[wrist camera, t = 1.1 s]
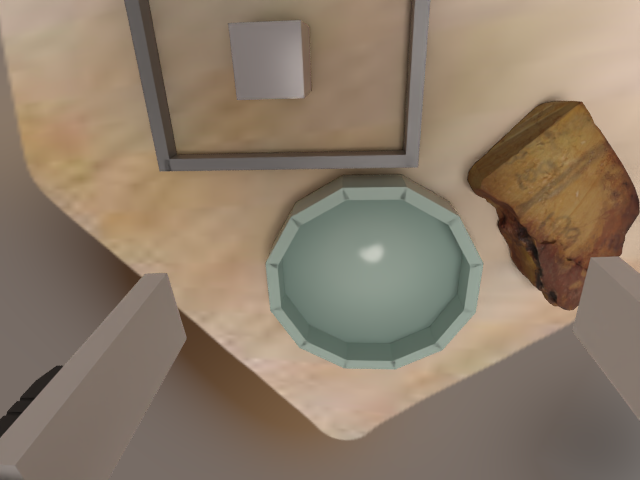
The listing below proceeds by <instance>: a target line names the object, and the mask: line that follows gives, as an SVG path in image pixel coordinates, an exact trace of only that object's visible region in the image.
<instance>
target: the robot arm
mask: <svg viewBox="0 0 640 480" xmlns="http://www.w3.org/2000/svg"><path fill="white" fill-rule="evenodd" d="M572 331H573V333H574V334H575V335H576V337H577V338H578V339H579V341H580V342H581V343H582V345H583V346H584V347H585V349H586V350H587V351H588V352H589V354H590V355H591V356H592V358H593V359H594V361H595V362H596V363H597V365H598V366H599V367H600V369H601V370H602V371H603V373H604V374H605V375H606V377H607V378H608V379H609V381H610V382H611V383H612V385H613V386H614V387H615V388H616V390H617V391H618V392H619V394H620V395H621V396H622V398H623V399H624V400H625V402H626V403H627V404H628V405H629V407H630V408H631V410H632V411H633V412H634V414H635V415H636V416H637V418H638V419H639V420H640V274H639V273H638V272H637V271H636V270H634V269H633V268H632V267H631V266H630V265H628V264H627V263H626V262H625V261H623V260H622V259H621V258H620V257H619V256H616V257H591V258H590V262H589V266H588V270H587V274H586V278H585V282H584V286H583V290H582V294H581V298H580V302H579V306H578V310H577V314H576V318H575V322H574V327H573V330H572ZM185 340H186V335H185V331H184V328H183V325H182V321H181V318H180V315H179V311H178V308H177V305H176V301H175V298H174V295H173V291H172V288H171V285H170V281H169V278H168V275H167V273H155V274H144V276H143V277H142V278H141V279H140V280H139V281H138V283H137V284H136V285H135V286H134V287H133V288H132V290H130V292H129V293H128V294H127V295H126V296H125V297H124V298H123V299H122V301H121V302H120V303H119V304H118V305H117V306H116V307H115V309H114V310H113V311H112V312H111V313H110V314H109V315H108V316H107V318H106V319H105V320H104V321H103V322H102V323H101V324H100V325H99V327H98V328H97V329H96V330H95V331H94V332H93V333H92V335H91V336H90V337H89V338H88V339H87V340H86V341H85V342H84V344H83V345H82V346H81V347H80V348H79V349H78V350H77V352H76V353H75V354H74V355H73V356H72V357H71V358H70V359H69V361H68V362H67V363H66V364H65V365H64V366H56V367H54V368H53V369H52V370H50V371H49V372H47V373H46V374H45V375H43V376H42V377H40V378H39V379H38V380H36V381H35V382H34V383H33V384H32V385H31V387H30V388H29V389H28V390H27V391H26V392H25V393H24V394H23V395H22V396H21V398H20V401H17V402H16V403H15V404H14V405H13V406H12V407H11V408H10V409H9V410H8V411H7V415H6V416H3V417H2V418H1V419H0V480H109V478H110V476H111V474H112V472H113V471H114V469H115V467H116V465H117V463H118V462H119V460H120V458H121V456H122V454H123V453H124V451H125V449H126V447H127V445H128V443H129V442H130V440H131V438H132V436H133V435H134V433H135V431H136V429H137V427H138V425H139V424H140V422H141V420H142V418H143V416H144V415H145V413H146V411H147V409H148V407H149V406H150V404H151V402H152V400H153V398H154V397H155V395H156V393H157V391H158V389H159V388H160V386H161V384H162V382H163V380H164V378H165V377H166V375H167V373H168V371H169V369H170V368H171V366H172V364H173V362H174V360H175V359H176V357H177V355H178V353H179V351H180V349H181V348H182V346H183V344H184V342H185Z"/></svg>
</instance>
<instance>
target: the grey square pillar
mask: <svg viewBox="0 0 640 480" xmlns="http://www.w3.org/2000/svg"><path fill="white" fill-rule="evenodd" d="M228 25H229V34H230V43H231V52H232V60H233V69H234V78H235V87H236V95H237V100H253V99H289V98H305V97H306V96H307V95H308V94H309V93H310V92H311V91H312V81H311V55H310V29H309V26H308V25H307V24H306V23H304V22H303V21H301V20H291V21H267V22H243V23H228Z"/></svg>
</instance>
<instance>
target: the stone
mask: <svg viewBox="0 0 640 480" xmlns="http://www.w3.org/2000/svg"><path fill="white" fill-rule="evenodd" d="M468 182H469V184H470V186H471V188H472V189H473V191H474V193H475V194H477V195H478V196H480V197H482V198H485V199H486V200H487V202H489V203H491V204H492V205H493V206H494V207H495V208H496V210H497V214H498V216H499V218H500V220H499V225H498V227H499V230H500V232H501V234H502V235H503V237H504V238H505V239H506V241H507V243H508V245H509V250H510V256H511V258H512V260H513V262H514V263H515V265H516V266H517V268H518V269H519V271H520V272H521V273H522V274H523V275H524V276H525V277H527V278H528V279H529V280H530V282H531V283H532V284H533V285H534V286H535V287H536V288H537V289H538V290H540V291H542V293H543V295H544V297H545V298H546V300H547V301H548V302H549V303H550V304H552V305H553V306H559V307H561V308H563V309H565V310H574V309H575V308H576V307H577V306H579V302H580V298H581V294H582V290H583V286H584V282H585V278H586V274H587V270H588V266H589V262H590V258H591V257H616V256H620V255H621V254H622V248H623V243H624V241H625V234H626V233H627V231H628V230H629V228H630V227H631V225H632V224H633V222H634V221H635V219H636V218H637V216H638V214H639V199H638V196H637V193H636V190H635V187H634V185H633V183H632V181H631V179H630V177H629V175H628V173H627V172H626V170H625V168H624V166H623V165H622V163H621V161H620V160H619V158H618V157H617V155H616V153H615V152H614V150H613V149H612V147H611V146H610V144H609V143H608V141H607V140H606V138H605V137H604V135H603V134H602V132H601V130H600V129H599V128H598V127H597V126H596V125H595V124H594V122H593V119H592V117H591V115H590V113H589V112H588V110H587V109H586V107H585V106H584V104H583V102H578V101H554V102H547V103H543V104H541V105H539V106H537V107H535V108H534V109H533V110H532V111H531V112H530V113H529V114H528V115H527V116H526V117H524V118H523V119H522V120H521V121H520V122H519V123H518V124H517V125H515V126H514V127H513V128H512V129H511V130H510V132H509V133H507V134H506V135H505V136H504V137H503V138H502V139H501V140H500V141H499V142H498V143H497V144H496V145H495V146H493V147H492V148H491V149H490V151H489V152H488V153H487V154H486V155H485V156H483V157H482V158H481V159H480V160H479V161H477V162H476V163H475V164H474V165H473V167H472V168H471V170H470V171H469V175H468Z"/></svg>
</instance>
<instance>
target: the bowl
mask: <svg viewBox="0 0 640 480" xmlns="http://www.w3.org/2000/svg"><path fill="white" fill-rule="evenodd" d="M482 269H483V262H482V260H481V258H480V256H479V254H478V252H477V250H476V248H475V246H474V244H473V242H472V240H471V238H470V236H469V234H468V233H467V231H466V229H465V227H464V225H463V223H462V221H461V219H460V217H459V215H458V214H457V212H456V211H455V209H454V208H453V207H452V205H451V204H450V202H449V201H448V200H446V199H444V198H442V197H441V196H439V195H437V194H435V193H433V192H432V191H430V190H428V189H426V188H424V187H423V186H421V185H419V184H417V183H416V182H414V181H412V180H410V179H408V178H407V177H405V176H403V175H401V174H387V175H343V176H341V177H339V178H337V179H336V180H334V181H332V182H330V183H329V184H327V185H325V186H324V187H322V188H320V189H318V190H317V191H315V192H313V193H311V194H310V195H308V196H306V197H305V198H303V199H301V200H299V201H298V202H296V203H295V205H294V207H293V209H292V210H291V212H290V214H289V216H288V218H287V220H286V222H285V223H284V225H283V227H282V229H281V231H280V233H279V234H278V236H277V238H276V240H275V242H274V244H273V246H272V248H271V251H270V253H269V256H268V259H267V261H266V272H267V282H268V292H269V301H270V310H271V312H272V313H273V314H274V316H275V317H276V318H277V320H278V321H279V322H280V323H281V325H282V326H283V327H284V329H285V330H286V331H287V332H288V334H289V335H290V336H291V337H292V339H293V340H294V341H295V343H296V344H297V345H298V346H299V348H301V349H303V350H306V351H308V352H310V353H312V354H314V355H316V356H319V357H321V358H323V359H325V360H327V361H329V362H332V363H334V364H336V365H338V366H340V367H342V368H353V369H397V368H400V367H402V366H405V365H407V364H409V363H412V362H414V361H417V360H419V359H422V358H424V357H427V356H429V355H432V354H434V353H436V352H439V351H441V350H443V349H444V348H445V347H446V345H447V344H448V343H449V342H450V341H451V340H452V339H453V338H454V336H455V335H456V334H457V333H458V332H459V331H460V330H461V328H462V327H463V326H464V325H465V324H466V323H467V322H468V321H469V319H470V318H471V317H472V316H473V315H474V314H475V312H476V307H477V300H478V294H479V288H480V282H481V276H482Z"/></svg>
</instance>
